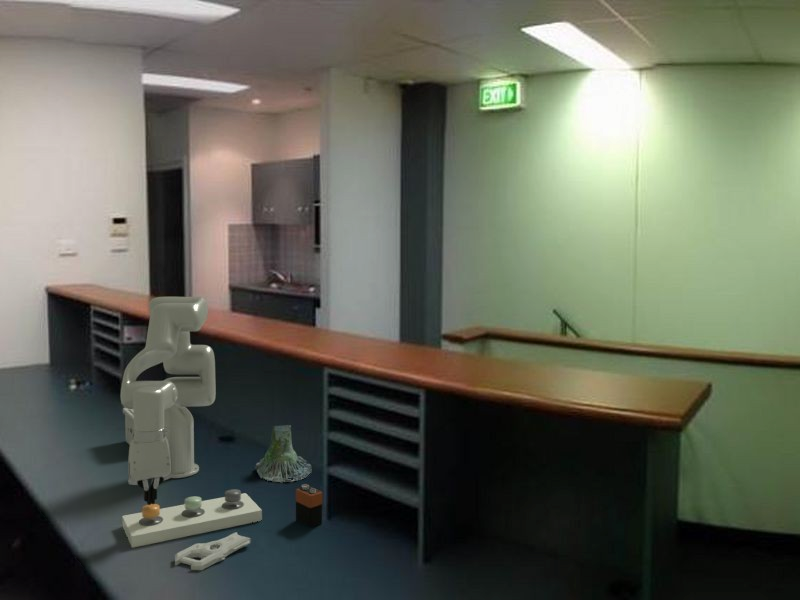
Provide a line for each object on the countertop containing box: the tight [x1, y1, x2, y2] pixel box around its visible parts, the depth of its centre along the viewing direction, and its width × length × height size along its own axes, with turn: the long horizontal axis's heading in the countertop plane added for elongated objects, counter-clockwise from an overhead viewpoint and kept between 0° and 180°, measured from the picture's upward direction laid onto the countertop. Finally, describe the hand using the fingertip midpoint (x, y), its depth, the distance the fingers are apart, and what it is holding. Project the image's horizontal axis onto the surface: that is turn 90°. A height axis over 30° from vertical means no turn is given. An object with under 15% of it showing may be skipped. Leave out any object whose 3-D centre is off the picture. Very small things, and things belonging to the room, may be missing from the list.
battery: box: [295, 483, 323, 528], centre depth 190 cm, size 4×7×10 cm, turn 46°
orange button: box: [141, 503, 161, 518], centre depth 181 cm, size 4×4×2 cm
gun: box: [174, 532, 252, 571], centre depth 170 cm, size 18×4×10 cm
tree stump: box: [254, 424, 313, 484], centre depth 229 cm, size 18×20×18 cm
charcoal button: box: [224, 488, 242, 502], centre depth 193 cm, size 4×4×2 cm
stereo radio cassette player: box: [122, 407, 134, 446], centre depth 250 cm, size 21×8×20 cm, turn 35°
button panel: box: [121, 492, 263, 549], centre depth 187 cm, size 14×34×3 cm, turn 121°
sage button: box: [184, 495, 202, 510], centre depth 187 cm, size 4×4×2 cm
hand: (150, 502), depth 181 cm, fingers closed
